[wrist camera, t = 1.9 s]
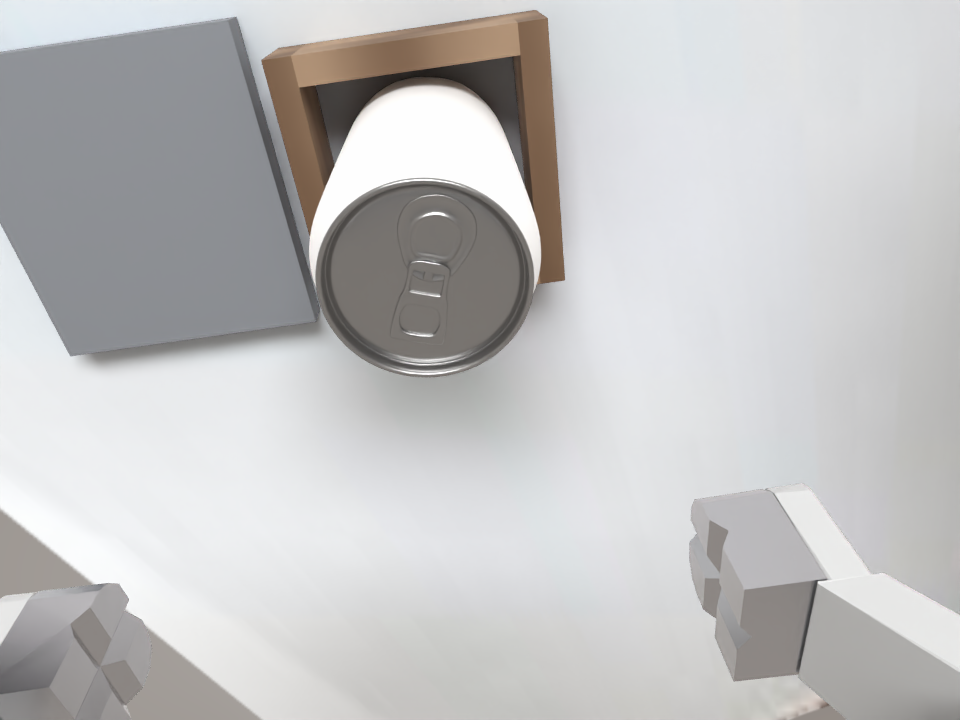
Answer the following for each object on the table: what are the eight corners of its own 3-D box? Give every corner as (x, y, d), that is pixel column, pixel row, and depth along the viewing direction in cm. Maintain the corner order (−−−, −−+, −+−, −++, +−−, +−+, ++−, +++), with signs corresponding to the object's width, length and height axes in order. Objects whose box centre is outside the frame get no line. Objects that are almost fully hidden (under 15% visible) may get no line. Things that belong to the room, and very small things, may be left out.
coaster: (236, 17, 25) (227, 20, 23) (319, 309, 31) (315, 321, 30) (-62, 61, 25) (-83, 66, 24) (82, 342, 31) (70, 356, 30)
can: (524, 92, 26) (582, 188, 16) (488, 245, 30) (518, 405, 20) (357, 56, 25) (307, 134, 15) (339, 219, 29) (289, 373, 19)
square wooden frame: (536, 10, 25) (547, 18, 22) (553, 251, 30) (564, 280, 28) (278, 47, 25) (261, 60, 23) (339, 281, 30) (330, 313, 28)
